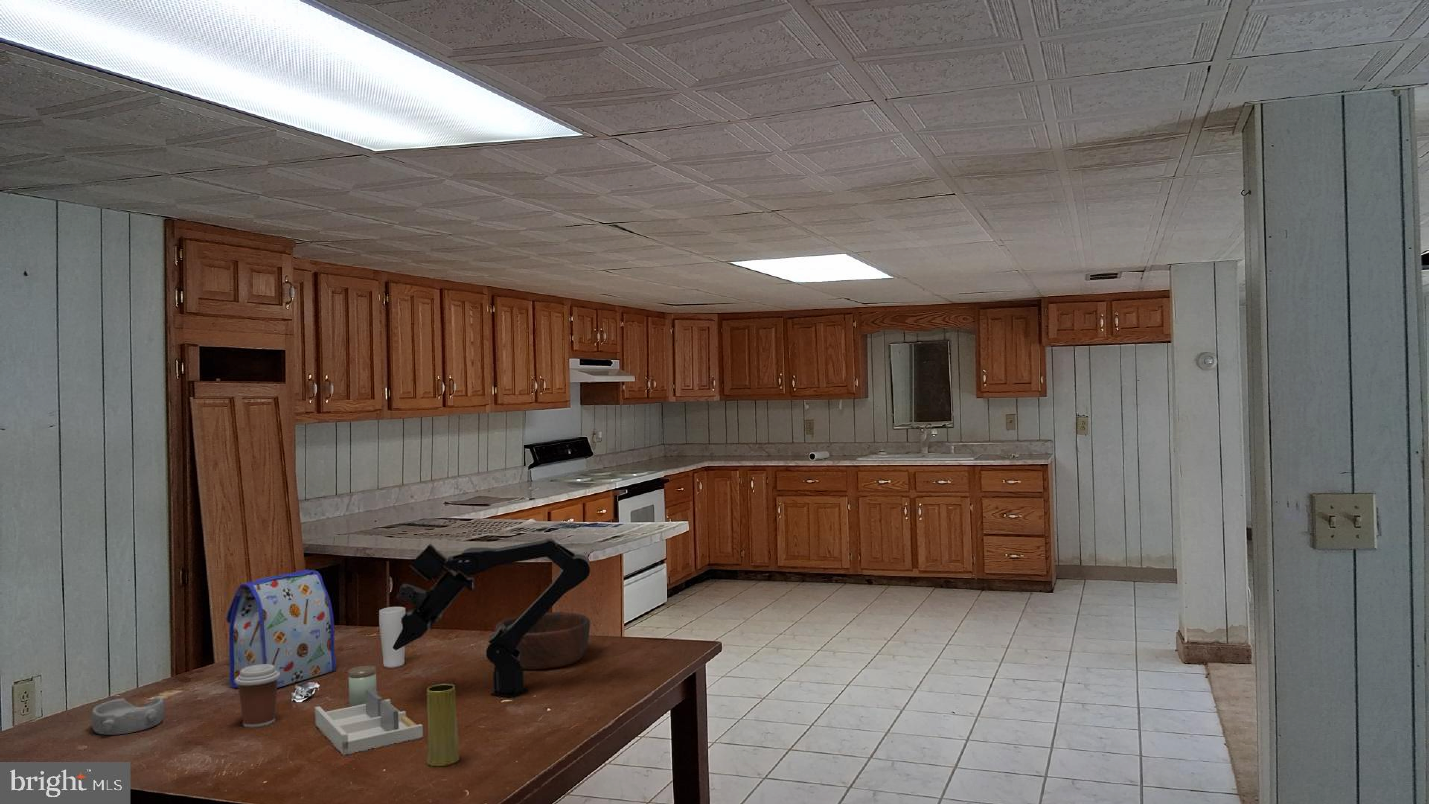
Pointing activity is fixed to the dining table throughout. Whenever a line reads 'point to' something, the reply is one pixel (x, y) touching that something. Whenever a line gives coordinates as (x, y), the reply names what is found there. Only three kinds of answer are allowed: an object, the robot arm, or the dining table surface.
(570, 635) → the wooden bowl
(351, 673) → the sage jar
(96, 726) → the dish
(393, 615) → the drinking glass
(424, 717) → the dining table surface
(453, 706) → the vase
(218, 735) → the dining table surface
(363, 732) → the white divided tray
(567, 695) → the dining table surface
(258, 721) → the coffee cup
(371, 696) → the plate
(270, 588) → the lunch bag
